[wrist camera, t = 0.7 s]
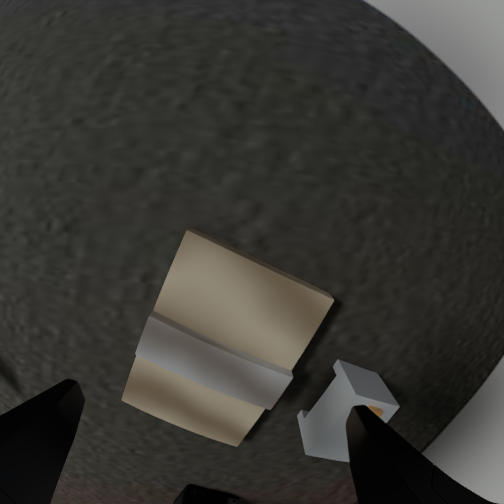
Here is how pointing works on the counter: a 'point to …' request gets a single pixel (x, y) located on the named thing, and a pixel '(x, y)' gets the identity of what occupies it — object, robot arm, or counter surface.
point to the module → (343, 410)
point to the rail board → (222, 339)
